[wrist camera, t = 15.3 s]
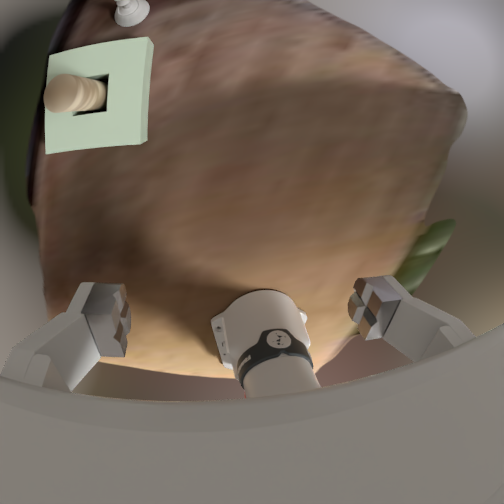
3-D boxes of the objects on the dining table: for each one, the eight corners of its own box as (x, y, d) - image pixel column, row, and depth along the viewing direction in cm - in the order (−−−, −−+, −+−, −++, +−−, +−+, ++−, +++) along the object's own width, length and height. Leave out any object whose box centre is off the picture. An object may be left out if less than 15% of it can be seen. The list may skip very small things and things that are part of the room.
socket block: (147, 140, 33) (140, 144, 29) (60, 148, 30) (45, 154, 27) (153, 44, 27) (148, 36, 23) (63, 59, 24) (49, 55, 20)
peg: (114, 108, 30) (75, 109, 19) (89, 111, 29) (43, 116, 18) (116, 81, 28) (78, 70, 17) (90, 84, 27) (44, 78, 16)
